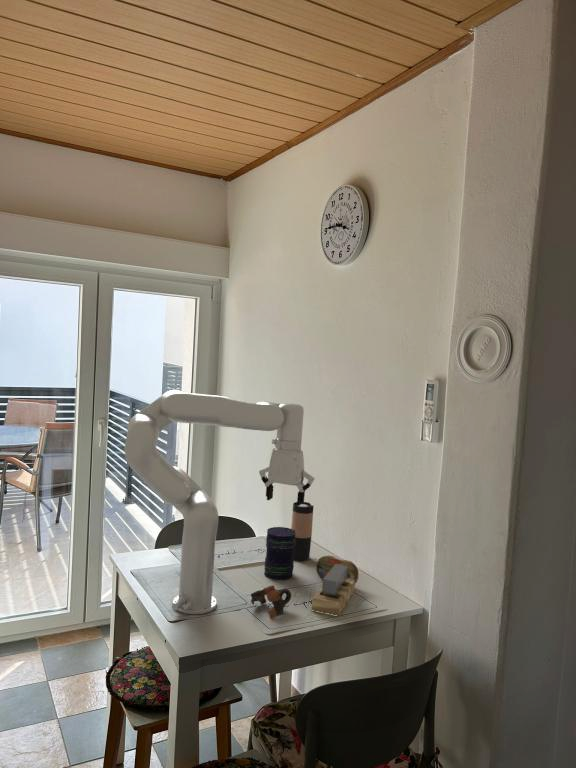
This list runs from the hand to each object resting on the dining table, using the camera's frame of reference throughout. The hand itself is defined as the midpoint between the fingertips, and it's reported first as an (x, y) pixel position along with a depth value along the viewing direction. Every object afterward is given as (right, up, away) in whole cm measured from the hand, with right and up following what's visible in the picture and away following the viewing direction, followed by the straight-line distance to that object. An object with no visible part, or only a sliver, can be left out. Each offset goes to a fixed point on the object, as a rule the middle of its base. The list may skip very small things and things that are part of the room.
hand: (284, 501), depth 176 cm
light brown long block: (+15, -31, +4) cm, 35 cm away
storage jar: (-2, -29, +22) cm, 37 cm away
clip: (+15, -31, +4) cm, 35 cm away
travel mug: (+5, -29, +39) cm, 49 cm away
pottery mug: (-4, -31, -5) cm, 31 cm away
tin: (+17, -31, +18) cm, 40 cm away
